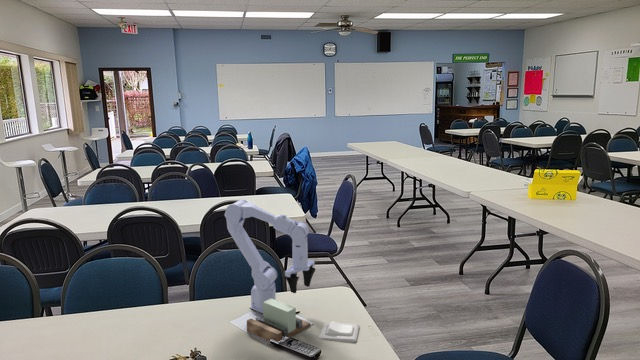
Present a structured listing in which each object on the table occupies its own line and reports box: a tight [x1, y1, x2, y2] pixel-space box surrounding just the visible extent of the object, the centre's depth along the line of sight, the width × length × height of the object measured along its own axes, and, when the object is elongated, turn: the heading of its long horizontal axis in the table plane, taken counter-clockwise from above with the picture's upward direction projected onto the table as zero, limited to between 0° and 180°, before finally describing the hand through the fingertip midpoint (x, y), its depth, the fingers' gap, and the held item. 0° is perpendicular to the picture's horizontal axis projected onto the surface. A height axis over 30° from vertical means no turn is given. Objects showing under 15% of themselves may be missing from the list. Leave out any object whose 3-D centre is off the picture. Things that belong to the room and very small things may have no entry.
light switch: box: [318, 320, 360, 343], centre depth 157 cm, size 11×4×13 cm
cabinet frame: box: [246, 316, 312, 342], centre depth 160 cm, size 15×17×4 cm
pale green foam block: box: [262, 298, 297, 333], centre depth 160 cm, size 5×12×8 cm, turn 51°
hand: (300, 289), depth 171 cm, fingers open, 7 cm apart
